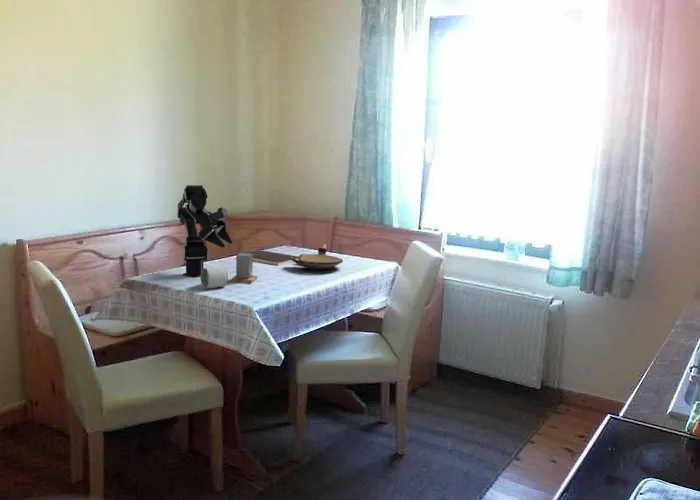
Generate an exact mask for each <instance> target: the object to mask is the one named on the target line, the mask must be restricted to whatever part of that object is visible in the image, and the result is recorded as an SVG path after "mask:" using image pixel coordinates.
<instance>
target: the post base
mask: <svg viewBox="0 0 700 500" xmlns="http://www.w3.org/2000/svg"><path fill="white" fill-rule="evenodd" d="M230 279H231V280H230V282H231V283H239V284H240V283H244V284H252V283H254V282H255V281H256V280H257V279H258V275H253V274H252V277H251V278H250V279H240V278H236V275H234V276H233V277H232V278H230Z"/></svg>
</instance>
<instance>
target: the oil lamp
mask: <svg viewBox="0 0 700 500" xmlns="http://www.w3.org/2000/svg"><path fill="white" fill-rule="evenodd" d="M327 248H328V247H327V244H326V243H324V244H323V245H322V246H321V247H318V253H313V254H312V253H302V254H299V255H296V256H297V258H298V259H299V260H296V259H294V258H292V257H290V259H291V260H292V261H293V262H292V263H295V264H297V265H298V266H301V267H302V268H306V269H311V270H329V269H330V268H334V267H336V266H338V265H341V264H342V263H343V261H344V260H343V258H341V257H337V256H333V255H326V254H327Z"/></svg>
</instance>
